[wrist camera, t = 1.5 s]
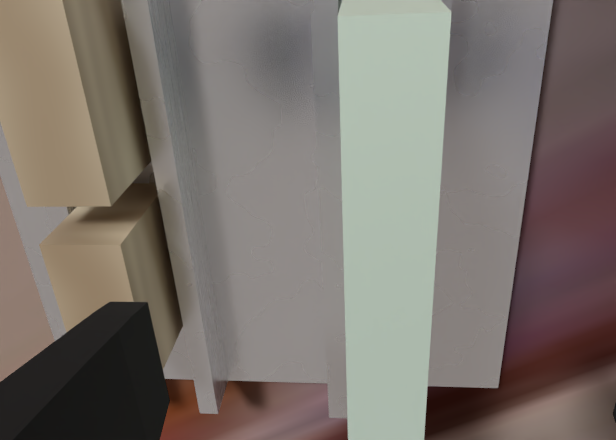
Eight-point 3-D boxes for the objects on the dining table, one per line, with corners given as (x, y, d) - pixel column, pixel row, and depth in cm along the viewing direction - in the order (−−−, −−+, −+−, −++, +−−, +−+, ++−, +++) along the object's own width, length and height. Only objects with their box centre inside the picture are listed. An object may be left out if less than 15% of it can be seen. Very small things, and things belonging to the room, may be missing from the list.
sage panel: (405, -39, 13) (451, 11, 6) (396, 313, 18) (415, 574, 11) (352, -36, 13) (337, 17, 6) (357, 312, 18) (351, 570, 11)
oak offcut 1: (129, -25, 14) (60, -9, 11) (160, 150, 16) (110, 206, 13) (50, -21, 14) (-40, -5, 11) (92, 151, 16) (26, 206, 13)
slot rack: (567, -203, 12) (612, -231, 10) (492, 366, 20) (508, 423, 17) (-79, -154, 14) (-164, -168, 11) (78, 356, 21) (45, 407, 19)
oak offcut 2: (166, 183, 16) (120, 244, 13) (190, 310, 18) (154, 389, 15) (100, 183, 16) (39, 244, 13) (130, 309, 19) (83, 386, 15)
